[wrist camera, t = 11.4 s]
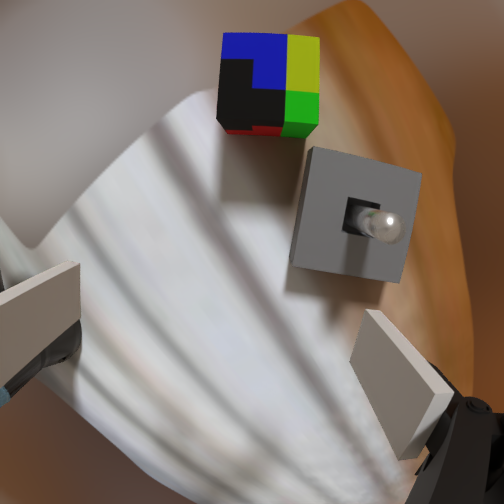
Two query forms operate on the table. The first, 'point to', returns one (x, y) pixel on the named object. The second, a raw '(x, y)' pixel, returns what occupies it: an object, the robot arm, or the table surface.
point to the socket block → (333, 210)
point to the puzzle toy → (269, 84)
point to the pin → (376, 223)
